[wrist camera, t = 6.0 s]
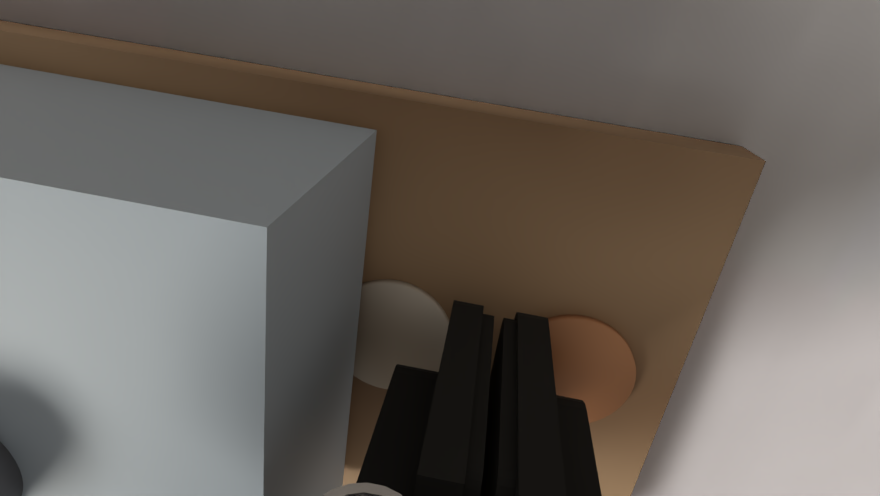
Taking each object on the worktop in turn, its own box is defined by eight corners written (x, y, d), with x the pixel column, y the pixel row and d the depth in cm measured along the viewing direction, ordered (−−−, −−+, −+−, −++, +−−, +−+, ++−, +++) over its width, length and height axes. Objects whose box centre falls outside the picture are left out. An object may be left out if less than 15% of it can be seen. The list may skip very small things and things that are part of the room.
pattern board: (-65, 9, 10) (-134, 10, 9) (742, 146, 10) (771, 164, 8) (19, 388, 14) (-23, 420, 13) (603, 510, 13) (610, 555, 12)
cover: (-83, 49, 9) (-720, 96, 5) (376, 129, 9) (211, 276, 4) (5, 413, 13) (-309, 664, 8) (342, 485, 12) (228, 798, 7)
